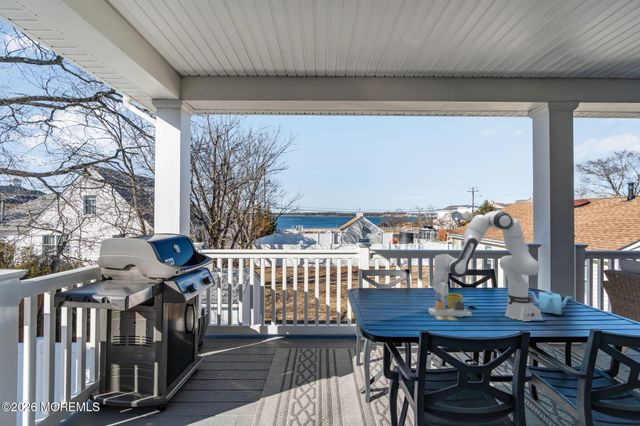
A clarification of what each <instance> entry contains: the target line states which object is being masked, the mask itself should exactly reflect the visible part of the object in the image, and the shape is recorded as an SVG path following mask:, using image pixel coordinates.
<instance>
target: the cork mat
mask: <svg viewBox="0 0 640 426" xmlns="http://www.w3.org/2000/svg"><path fill="white" fill-rule="evenodd" d="M433 316H434V318H435V319H437V320H438V321H439V320H440V321H458V320H459V319H458V318H456V316H440V315H433Z"/></svg>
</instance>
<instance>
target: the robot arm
mask: <svg viewBox="0 0 640 426" xmlns="http://www.w3.org/2000/svg"><path fill="white" fill-rule="evenodd" d="M491 228H493V229H500V230H501V232H502V236H503V241H504V247H505V249H506V250H507V251H508V253H510V254H511V255H504V256H502V257H501V258H500V260H499V267H500V268H501V270H502V271H503V272H504V274H505V276H506V279H507V280H506V281H507V288H508V289H507V295H506V297H507V298H506V300H507V301H506V303H507V304H506V305H507V306H506V310H505V313H504V317H506V316H507V317H506V318H508V317H509V318H508V319H511V318H512V319H511V320H514V319H517V320H516V321H519V320H523V321H530V320H532V319H542V317H543V316H542V315H543V314H541V311H540V310H539V307H537V306H536V305H534V304H533V303H532V302H535V300H534V298H533V297H530V296H529V284H528V282H527V281H526V280H525V279H524V277H523V276H536V275H537V274H538V273H539V271H540V263H539V262H538V261H537V260H536V259H535V258H534V257H533V256H532V255H531V253H530V252H529V250H528V248H527V246H526V242H525V239H524V238H525V237H524V234H523V229H522V226H521V223H520V221H519V220H518V219H516V218H512V216H511V215H510V214H509V213H507V211H506V212H505V211H500V210H490V211H489V210H488V211H487V212H485V213H484V214H476V215H475V216H473V218H472V219H471V220H470V222H469V223H468V225H467V226H466V229H465V231H464V233H463V237H462V238H463V241H464V244H463V245H464V246H463V248H462V250H461V253H460V254H459V257H458V258H455V257H453V256H451V255H450V254H448V253H446V252H441V253H437V254H436V255H435V257H434V262H433V263H434V265H433V267H434V271H433V275H432V276H431V278H432V289H433V290H434V291H435V292H434V293H435V298H436V299H439V298H441V301H442V302H445V299H446V296H448V294H449V284H448V282H449V274H452V276H453V277H456V278H463V277H465V276H466V275H467V274H468V271H469V264H470V261H471V259H472V256H473V255H474V253H475V251H476V249H477V247H478V245H479V244H480V243H481V241H482V239H483V238H484V236H485V235H486V232H487V231H488V230H489V229H491ZM523 321H522V322H523Z"/></svg>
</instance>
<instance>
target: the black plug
mask: <svg viewBox="0 0 640 426" xmlns="http://www.w3.org/2000/svg"><path fill="white" fill-rule="evenodd" d="M454 309H455V310H464V309H465V302H463V301H462V302H461V299H458V302H454Z"/></svg>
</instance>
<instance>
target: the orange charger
mask: <svg viewBox="0 0 640 426" xmlns="http://www.w3.org/2000/svg"><path fill="white" fill-rule="evenodd" d="M438 299H439V300H435V306H434V307H435V308H436V309H445V308H446V301H444V302H442V301H441V297H439V298H438Z"/></svg>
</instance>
